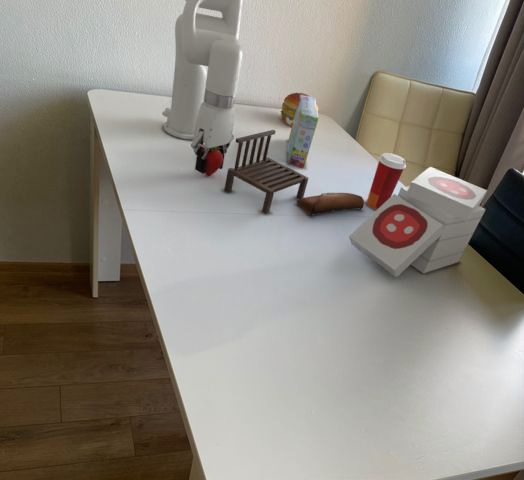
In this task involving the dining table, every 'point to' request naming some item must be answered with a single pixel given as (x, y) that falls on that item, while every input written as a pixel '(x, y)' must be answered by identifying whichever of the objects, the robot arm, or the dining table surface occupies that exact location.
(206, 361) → the dining table surface
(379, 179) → the paper cup
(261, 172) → the miniature wooden chair
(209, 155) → the strawberry
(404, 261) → the pizza boxes
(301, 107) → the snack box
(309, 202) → the sunglasses case
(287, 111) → the burger
